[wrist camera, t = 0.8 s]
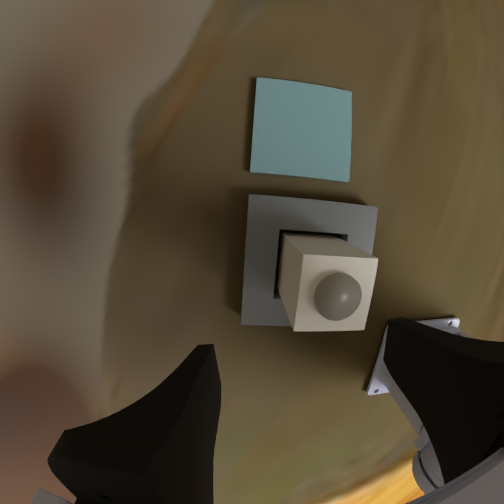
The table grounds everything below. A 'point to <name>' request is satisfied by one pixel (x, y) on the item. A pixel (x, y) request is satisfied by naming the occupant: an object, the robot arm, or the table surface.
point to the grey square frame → (267, 236)
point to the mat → (301, 130)
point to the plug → (325, 282)
